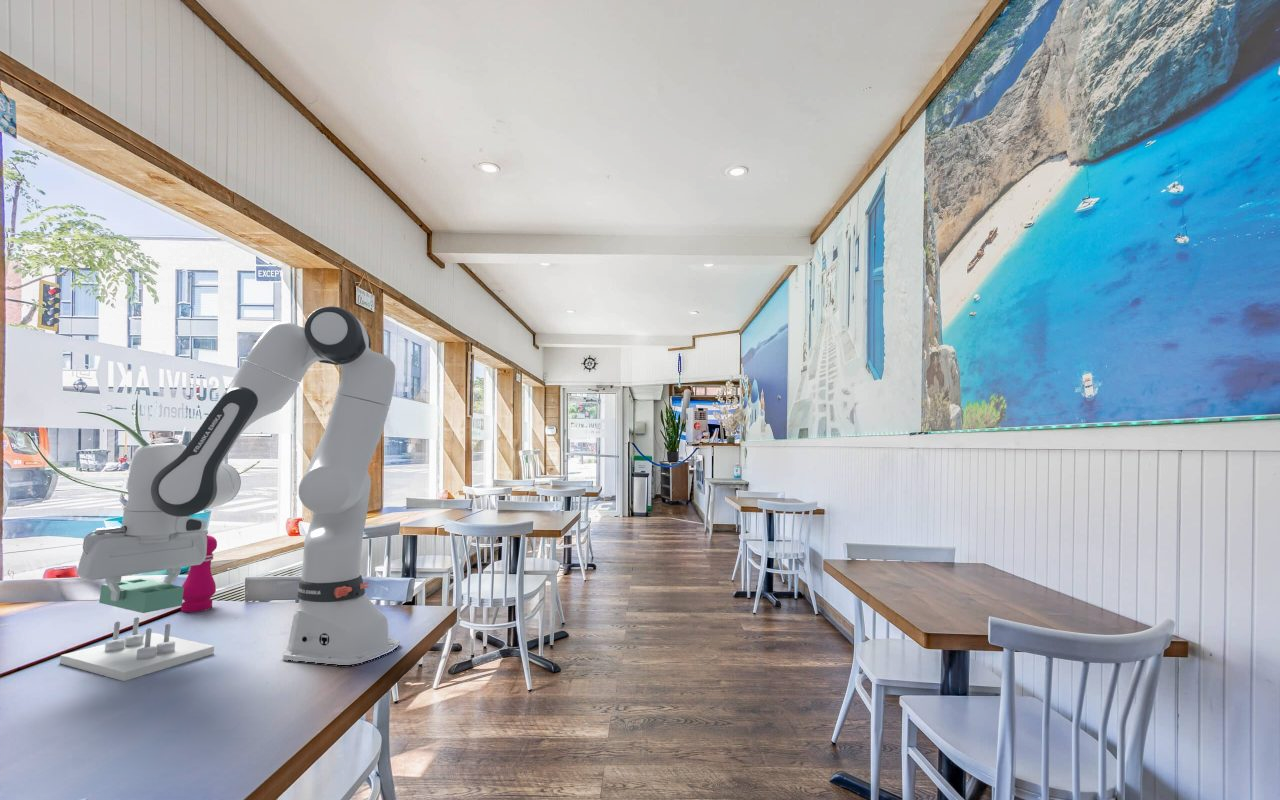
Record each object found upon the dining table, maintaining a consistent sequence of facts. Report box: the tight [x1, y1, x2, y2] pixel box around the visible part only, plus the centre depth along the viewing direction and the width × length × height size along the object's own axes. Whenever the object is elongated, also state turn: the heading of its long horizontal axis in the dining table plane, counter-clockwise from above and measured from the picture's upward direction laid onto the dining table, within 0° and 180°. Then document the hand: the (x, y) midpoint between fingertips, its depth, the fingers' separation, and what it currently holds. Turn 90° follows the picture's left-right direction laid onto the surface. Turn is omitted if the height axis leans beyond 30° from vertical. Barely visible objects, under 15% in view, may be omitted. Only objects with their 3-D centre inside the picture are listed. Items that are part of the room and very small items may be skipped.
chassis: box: [59, 616, 215, 682], centre depth 111 cm, size 20×15×7 cm
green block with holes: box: [98, 578, 184, 614], centre depth 111 cm, size 14×6×4 cm, turn 69°
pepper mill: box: [180, 528, 218, 613], centre depth 145 cm, size 7×7×20 cm
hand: (142, 595), depth 111 cm, fingers closed on green block with holes, 6 cm apart
